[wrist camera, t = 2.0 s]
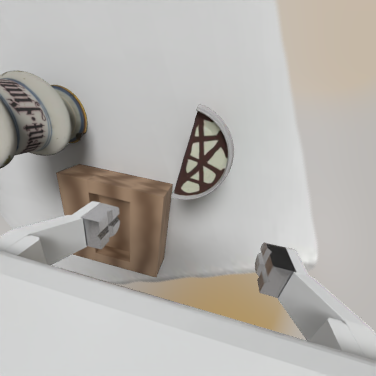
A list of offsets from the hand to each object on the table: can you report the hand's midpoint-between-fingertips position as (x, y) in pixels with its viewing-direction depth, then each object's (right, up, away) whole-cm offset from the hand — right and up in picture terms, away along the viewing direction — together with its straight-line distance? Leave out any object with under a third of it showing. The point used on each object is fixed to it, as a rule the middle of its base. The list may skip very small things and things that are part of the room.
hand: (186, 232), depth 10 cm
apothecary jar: (-23, +16, +23) cm, 36 cm away
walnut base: (-14, -4, +29) cm, 33 cm away
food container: (+4, +9, +20) cm, 23 cm away
